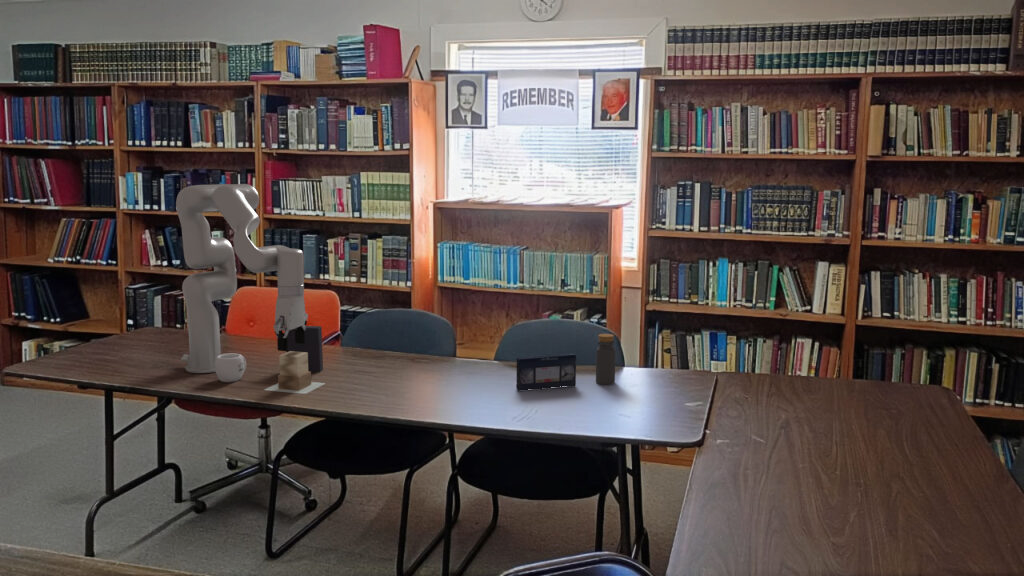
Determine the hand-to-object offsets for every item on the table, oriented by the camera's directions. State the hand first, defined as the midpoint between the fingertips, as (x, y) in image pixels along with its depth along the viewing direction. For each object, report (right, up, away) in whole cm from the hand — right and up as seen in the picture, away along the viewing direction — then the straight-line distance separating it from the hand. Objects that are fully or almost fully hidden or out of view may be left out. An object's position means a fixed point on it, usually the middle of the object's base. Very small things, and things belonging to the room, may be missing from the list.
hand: (291, 346), depth 256 cm
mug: (-21, -11, +12) cm, 27 cm away
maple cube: (+1, -8, +1) cm, 8 cm away
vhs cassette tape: (+76, -13, +3) cm, 77 cm away
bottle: (+95, -12, +9) cm, 96 cm away
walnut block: (+1, -12, +1) cm, 12 cm away
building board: (+1, -13, +2) cm, 13 cm away
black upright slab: (-1, -10, +21) cm, 23 cm away
